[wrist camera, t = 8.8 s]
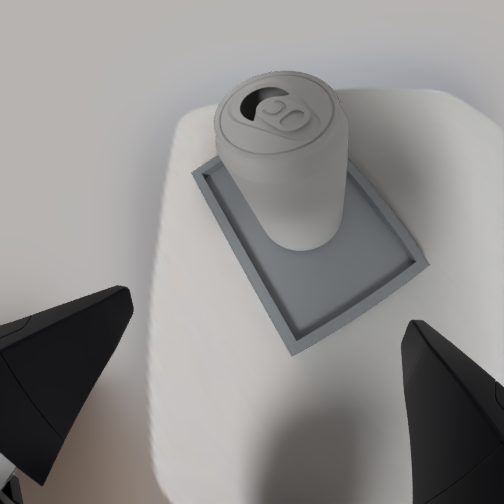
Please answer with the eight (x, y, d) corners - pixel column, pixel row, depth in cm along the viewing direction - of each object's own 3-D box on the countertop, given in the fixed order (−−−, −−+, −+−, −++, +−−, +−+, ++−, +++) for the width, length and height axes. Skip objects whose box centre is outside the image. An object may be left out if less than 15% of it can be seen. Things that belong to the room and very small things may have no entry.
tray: (423, 269, 19) (429, 264, 18) (294, 355, 20) (292, 356, 19) (302, 119, 26) (300, 109, 24) (198, 181, 27) (191, 172, 25)
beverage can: (302, 167, 23) (276, 52, 12) (359, 215, 21) (379, 104, 10) (247, 215, 23) (180, 119, 12) (300, 271, 21) (269, 197, 10)
